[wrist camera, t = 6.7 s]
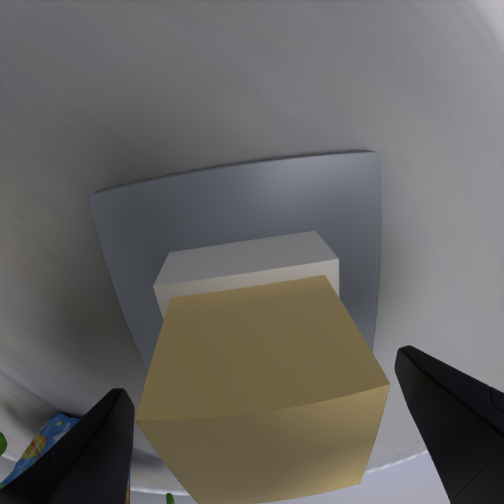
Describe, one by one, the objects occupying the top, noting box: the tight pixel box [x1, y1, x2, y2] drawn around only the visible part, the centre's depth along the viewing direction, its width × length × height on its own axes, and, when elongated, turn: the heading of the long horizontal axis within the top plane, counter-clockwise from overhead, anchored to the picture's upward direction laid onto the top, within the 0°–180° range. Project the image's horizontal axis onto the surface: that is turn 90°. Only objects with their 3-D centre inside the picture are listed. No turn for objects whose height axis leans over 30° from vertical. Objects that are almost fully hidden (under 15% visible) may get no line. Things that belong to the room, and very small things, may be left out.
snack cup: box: [0, 413, 174, 504], centre depth 14 cm, size 16×10×10 cm
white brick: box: [153, 231, 339, 320], centre depth 12 cm, size 6×6×3 cm
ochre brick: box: [135, 275, 390, 504], centre depth 8 cm, size 5×5×5 cm
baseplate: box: [88, 150, 381, 373], centre depth 14 cm, size 12×12×1 cm
